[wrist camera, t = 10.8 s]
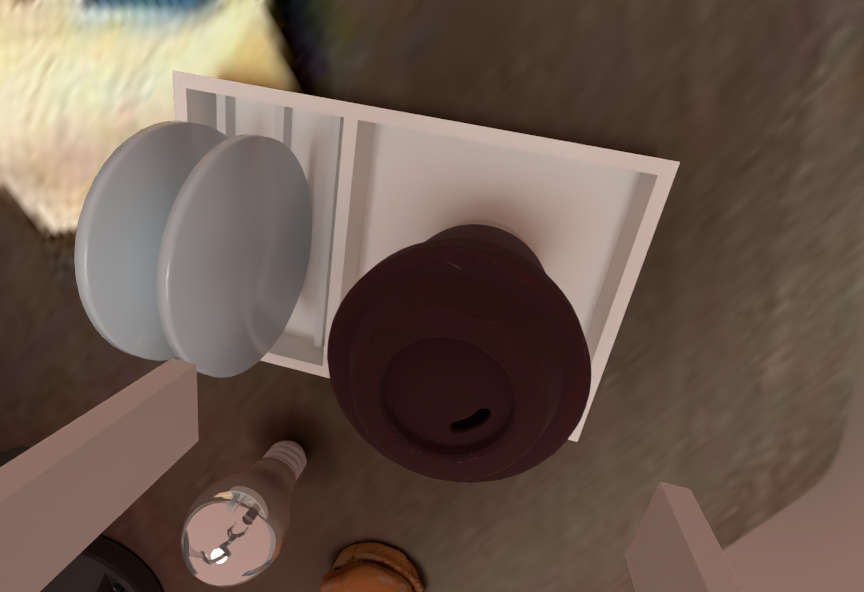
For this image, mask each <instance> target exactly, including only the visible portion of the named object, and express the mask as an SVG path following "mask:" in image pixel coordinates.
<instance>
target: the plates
mask: <svg viewBox="0 0 864 592" xmlns="http://www.w3.org/2000/svg"><path fill="white" fill-rule="evenodd" d="M311 239H312V208H311V199H310V193H309V188H308V184H307V180H306V177H305V174H304V172H303V169H302V167H301V165H300V163H299V161H298V160H297V158H296V157H295V155H294V154H293V152H292V151H291V150H290V149H289V148H288V147H287V146H286V145H284V144H283V143H281V142H280V141H278V140H275V139H273V138H270V137H264V136H259V135H252V134H245V135H238V136H235V137H232V138H228V137H227V136H226V135H224V134H223V133H221V132H220V131H218V130H216V129H214V128H212V127H209V126H206V125H203V124H197V123H192V122H186V121H166V122H162V123H157V124H154V125H151V126H149V127H147V128H145V129H142V130H140V131H139V132H137V133H136V134H134V135H133V136H131V137H130V138H128V139H127V140H126V141H125V142H124V143H123V144H121V145H120V146H119V147H118V148H117V149H116V150H115V151H114V152H113V153H112V155H111V156H110V157H109V158H108V159H107V161H106V162H105V163H104V164H103V166H102V168H101V169H100V171H99V172H98V174H97V176H96V177H95V179H94V181H93V183H92V185H91V187H90V189H89V192H88V194H87V196H86V198H85V201H84V204H83V208H82V211H81V214H80V217H79V222H78V227H77V233H76V239H75V257H74V260H75V273H76V281H77V286H78V290H79V295H80V298H81V301H82V303H83V306H84V309H85V311H86V313H87V315H88V317H89V319H90V321H91V322H92V324H93V326H94V327H95V328H96V330H97V331H98V332H99V333H100V334H101V336H102V337H103V338H104V339H105V340H107V341H108V342H109V343H110V344H111V345H113V346H114V347H116V348H118V349H119V350H121V351H123V352H125V353H128V354H131V355H134V356H137V357H141V358H145V359H150V360H158V361H160V360H170V359H172V358H173V359H176V358H178V359H179V360H181V361H185V362H189V363H193V364H196V368H197V372H199V373H202V374H205V375H209V376H213V377H221V378H225V377H232V376H235V375H238V374H240V373H242V372H244V371H246V370H248V369H249V368H251V367H252V366H253V365H255V364H256V363H257V362H258V361H259V360H261V359H262V358H263V357H264V356H265V355H266V354H267V352H268V351H269V350H270V349H271V348H272V346H273V345H274V344H275V342H276V341H277V340H278V338H279V337H280V335H281V333H282V332H283V330H284V329H285V327H286V325H287V323H288V321H289V319H290V317H291V315H292V313H293V311H294V308H295V306H296V303H297V301H298V298H299V296H300V293H301V289H302V286H303V283H304V279H305V275H306V272H307V267H308V262H309V256H310V249H311Z"/></svg>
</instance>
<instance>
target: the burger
mask: <svg viewBox="0 0 864 592" xmlns="http://www.w3.org/2000/svg"><path fill="white" fill-rule="evenodd" d="M320 592H424V588H423V585H422V583H421V582H420V580H419V577H418V575H417V571H416V569H415V567H414V566H413V565H412V563H411V562H410V561H409V560H408V559H407V558H406V556H405V555H404V554H403V553H402V552H400V551H399V550H396V549H394V548H392V547H389V546H385V545H383V544H380V543H376V542H374V543H371V542H366V543H357V544H353V545H352V546H348V547H347V548H345V549H344V550H343V551H342V552H341V553H340V555H339V556H338V558H337V560H336V562H335V564H334V565H333V568H332V571H329V572H328V573H326V574H325V576H324V577H323V579H322V582H321V586H320Z"/></svg>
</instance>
